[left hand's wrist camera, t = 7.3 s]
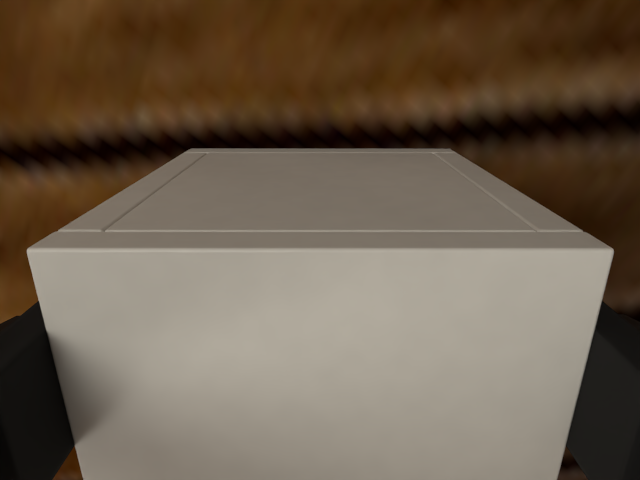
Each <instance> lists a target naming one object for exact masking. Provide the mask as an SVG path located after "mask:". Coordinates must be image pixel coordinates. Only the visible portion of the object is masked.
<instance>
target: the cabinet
mask: <svg viewBox="0 0 640 480" xmlns="http://www.w3.org/2000/svg"><path fill="white" fill-rule="evenodd" d="M27 255H28V259H29V263H30V267H31V271H32V275H33V279H34V283H35V287H36V291H37V295H38V299H39V303H40V307H41V311H42V315H43V319H44V323H45V327H46V331H47V335H48V339H49V343H50V347H51V351H52V355H53V359H54V363H55V367H56V371H57V375H58V380H59V384H60V388H61V392H62V396H63V400H64V404H65V408H66V412H67V416H68V420H69V424H70V428H71V432H72V436H73V440H74V444H75V448H76V452H77V456H78V460H79V464H80V468H81V472H82V476H83V480H557V478H558V474H559V470H560V466H561V462H562V458H563V454H564V450H565V446H566V442H567V438H568V434H569V430H570V427H571V423H572V419H573V415H574V411H575V407H576V403H577V399H578V395H579V391H580V387H581V383H582V379H583V375H584V371H585V367H586V363H587V359H588V355H589V351H590V347H591V343H592V339H593V335H594V331H595V327H596V323H597V319H598V315H599V311H600V307H601V303H602V299H603V295H604V291H605V287H606V283H607V279H608V275H609V271H610V267H611V263H612V259H613V255H614V250H613V248H611V247H609V246H608V245H606V244H605V243H603V242H601V241H600V240H598V239H596V238H595V237H593V236H592V235H590V234H588V233H586V232H583V230H581V229H579V228H578V227H576V226H574V225H573V224H571V223H570V222H568V221H566V220H565V219H563V218H561V217H560V216H558V215H557V214H555V213H553V212H552V211H550V210H549V209H547V208H545V207H544V206H542V205H540V204H539V203H537V202H536V201H534V200H532V199H531V198H529V197H527V196H526V195H524V194H523V193H521V192H519V191H518V190H516V189H514V188H513V187H511V186H510V185H508V184H506V183H505V182H503V181H501V180H500V179H498V178H497V177H495V176H493V175H492V174H490V173H489V172H487V171H485V170H484V169H482V168H480V167H479V166H477V165H476V164H474V163H472V162H471V161H469V160H467V159H466V158H464V157H463V156H461V155H459V154H458V153H456V152H454V151H453V150H451V149H189V150H188V151H186V152H184V153H183V154H181V155H180V156H178V157H176V158H175V159H173V160H171V161H170V162H168V163H167V164H165V165H163V166H162V167H160V168H159V169H157V170H155V171H154V172H152V173H150V174H149V175H147V176H146V177H144V178H142V179H141V180H139V181H137V182H136V183H134V184H133V185H131V186H129V187H128V188H126V189H124V190H123V191H121V192H120V193H118V194H116V195H115V196H113V197H112V198H110V199H108V200H107V201H105V202H103V203H102V204H100V205H99V206H97V207H95V208H94V209H92V210H90V211H89V212H87V213H86V214H84V215H82V216H81V217H79V218H77V219H76V220H74V221H73V222H71V223H69V224H68V225H66V226H64V227H63V228H61V229H60V230H58V232H54V233H52V234H50V235H49V236H47V237H46V238H44V239H42V240H41V241H39V242H37V243H36V244H34V245H33V246H31V247H29V248H28V249H27Z"/></svg>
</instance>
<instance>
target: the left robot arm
mask: <svg viewBox="0 0 640 480" xmlns="http://www.w3.org/2000/svg"><path fill="white" fill-rule="evenodd" d="M74 445H75V444H74V440H73V436H72V432H71V428H70V424H69V420H68V416H67V412H66V408H65V404H64V400H63V396H62V392H61V388H60V384H59V380H58V375H57V371H56V367H55V363H54V359H53V355H52V351H51V347H50V343H49V339H48V335H47V331H46V327H45V323H44V319H43V315H42V311H41V307H40V303H39V301H38V302H37V303H36V304H34V305H33V306H32V307H31V308H29V309H28V310H27V311H26V312H25V313H23V314H22V315H21V316H15V317H13V318H11V319H9V320H7V321H5V322H3V323H1V324H0V480H52V479H53V478H54V476H55V475H56V473H57V471H58V470H59V468H60V467H61V465H62V464H63V462H64V461H65V459H66V458H67V456H68V455H69V453H70V452H71V450H72V449H73V447H74ZM566 446H567V448H568V449H569V451H570V452H571V454H572V455H573V457H574V458H575V460H576V462H577V463H578V465H579V466H580V468H581V469H582V471H583V472H584V474H585V475H586V477H587V478H588V480H640V322H639V321H637V320H635V319H633V318H631V317H629V316H627V315H625V314H617V313H616V312H615V311H614V310H612V309H611V308H610V307H609V306H607V305H606V304H605V303H604V302H603V301H602V303H601V307H600V311H599V315H598V319H597V323H596V327H595V331H594V335H593V339H592V343H591V347H590V351H589V355H588V359H587V363H586V367H585V371H584V375H583V379H582V383H581V387H580V391H579V395H578V399H577V403H576V407H575V411H574V415H573V419H572V423H571V427H570V430H569V434H568V438H567V442H566Z"/></svg>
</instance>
